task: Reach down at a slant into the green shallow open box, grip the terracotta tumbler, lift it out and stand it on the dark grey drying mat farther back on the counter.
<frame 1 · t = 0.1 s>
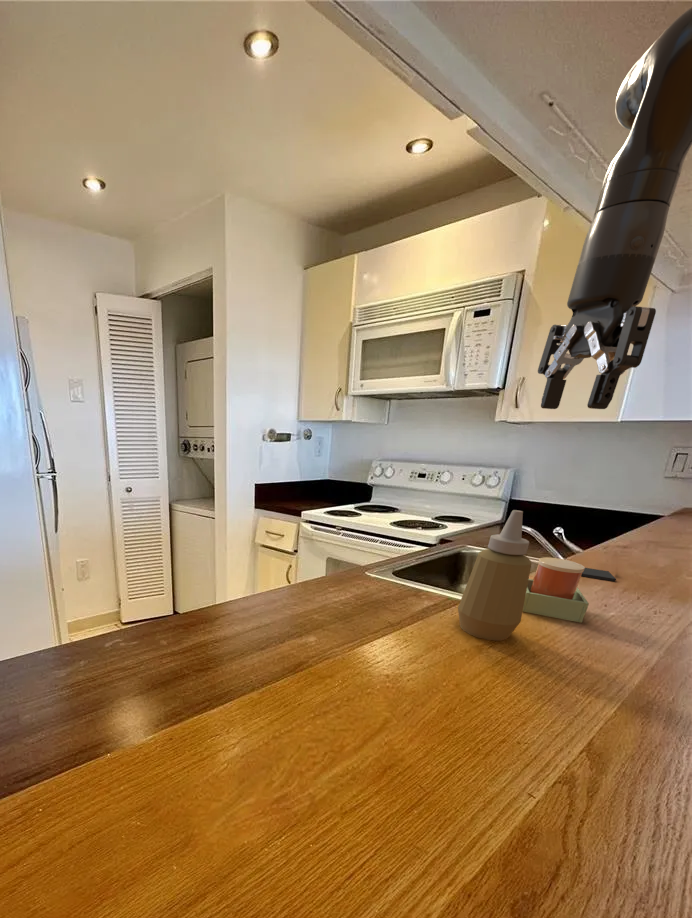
hand: (571, 408, 62), 31 cm above the countertop, tool pointing down, fingers open, 8 cm apart
squeeze bottle: (481, 637, 68), on the countertop
drying mat: (591, 574, 101), on the countertop
green shallow open box: (544, 612, 78), on the countertop
tumbler: (546, 609, 78), point 1 cm above the countertop, touching green shallow open box
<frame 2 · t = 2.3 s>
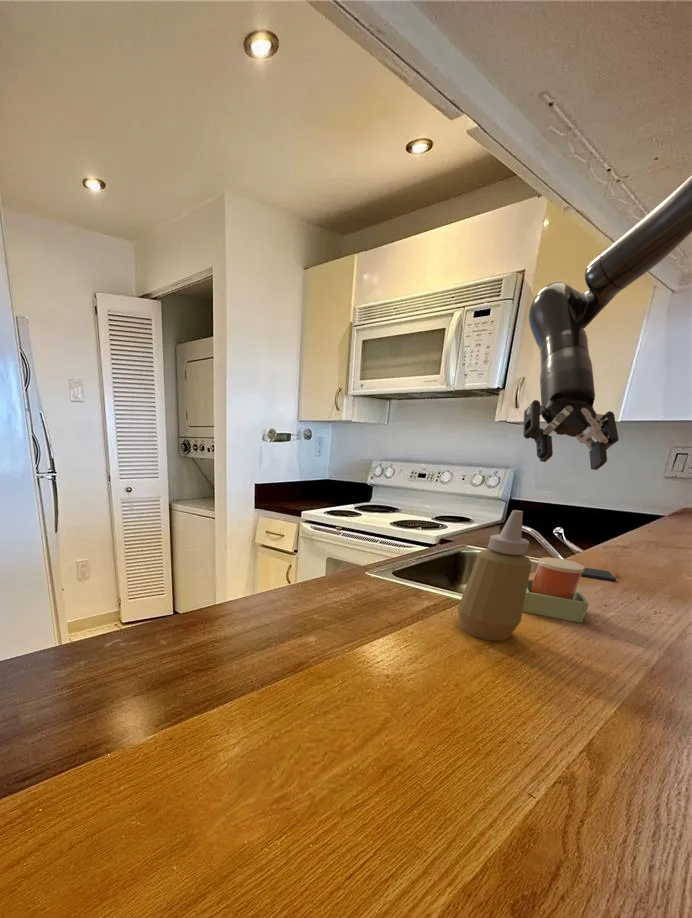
hand: (572, 463, 77), 23 cm above the countertop, tool tilted 40°, fingers open, 8 cm apart
nothing on the countertop moved.
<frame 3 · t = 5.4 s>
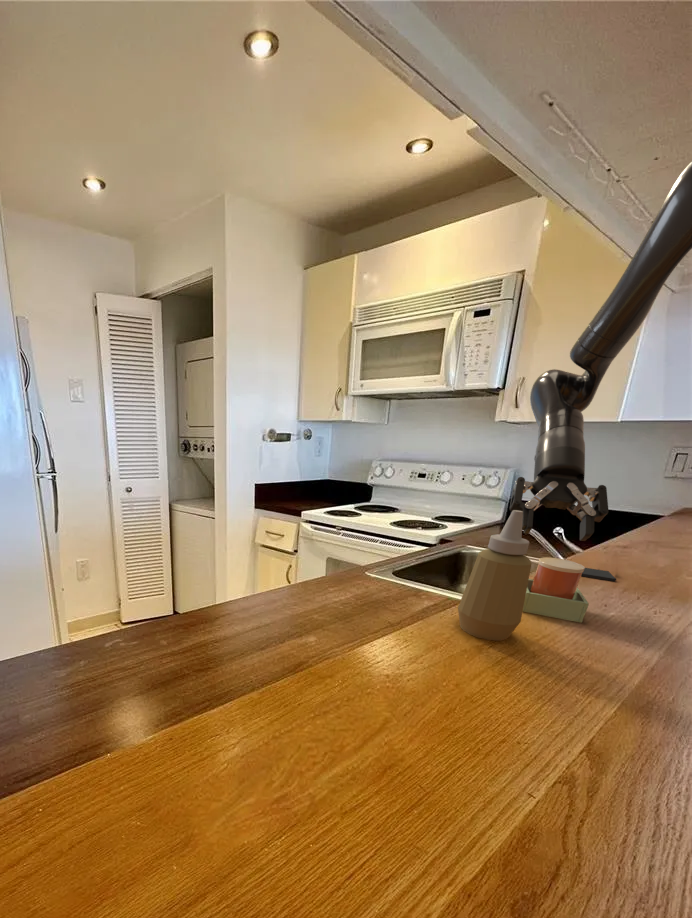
hand: (556, 534, 80), 12 cm above the countertop, tool tilted 45°, fingers open, 8 cm apart
nothing on the countertop moved.
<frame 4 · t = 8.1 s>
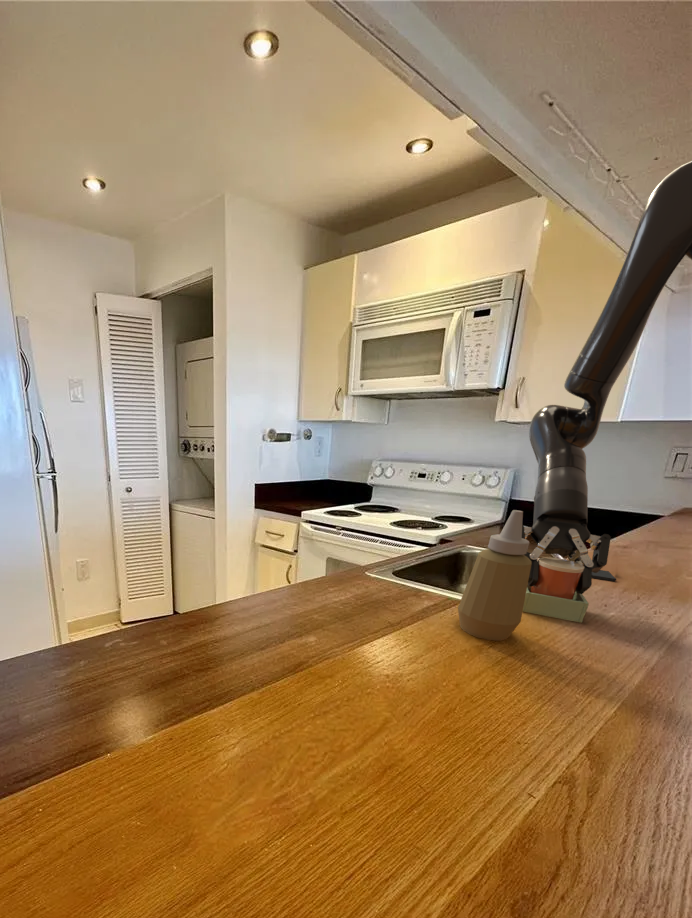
hand: (557, 587, 75), 5 cm above the countertop, tool tilted 45°, fingers closed on tumbler, 6 cm apart
tumbler: (546, 609, 78), point 1 cm above the countertop, touching green shallow open box, gripper
everything else where it was.
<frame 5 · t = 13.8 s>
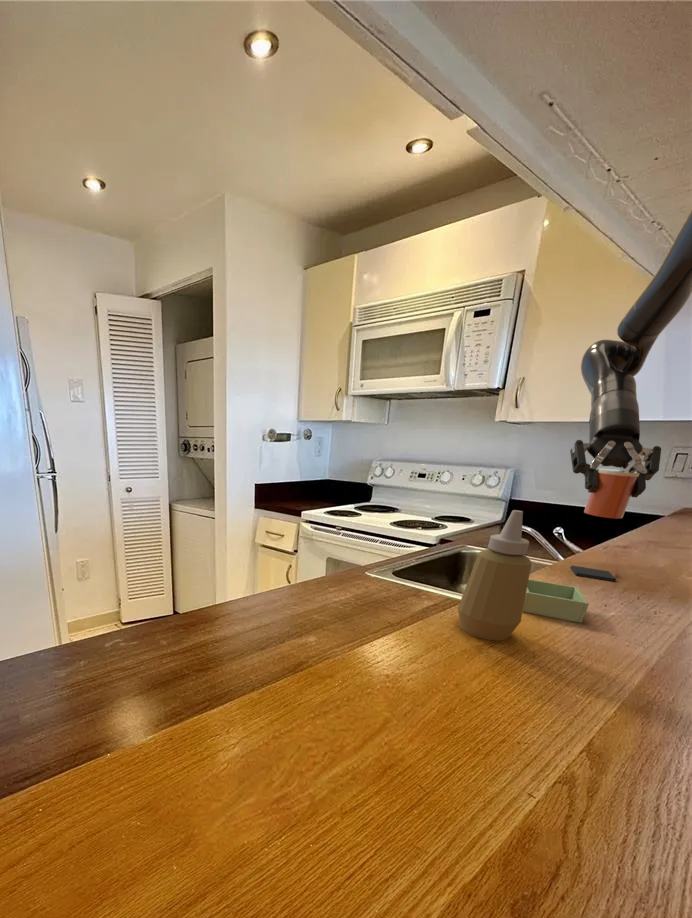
hand: (614, 492, 85), 18 cm above the countertop, tool tilted 45°, fingers closed on tumbler, 6 cm apart
tumbler: (602, 514, 88), point 14 cm above the countertop, touching gripper
everything else where it was.
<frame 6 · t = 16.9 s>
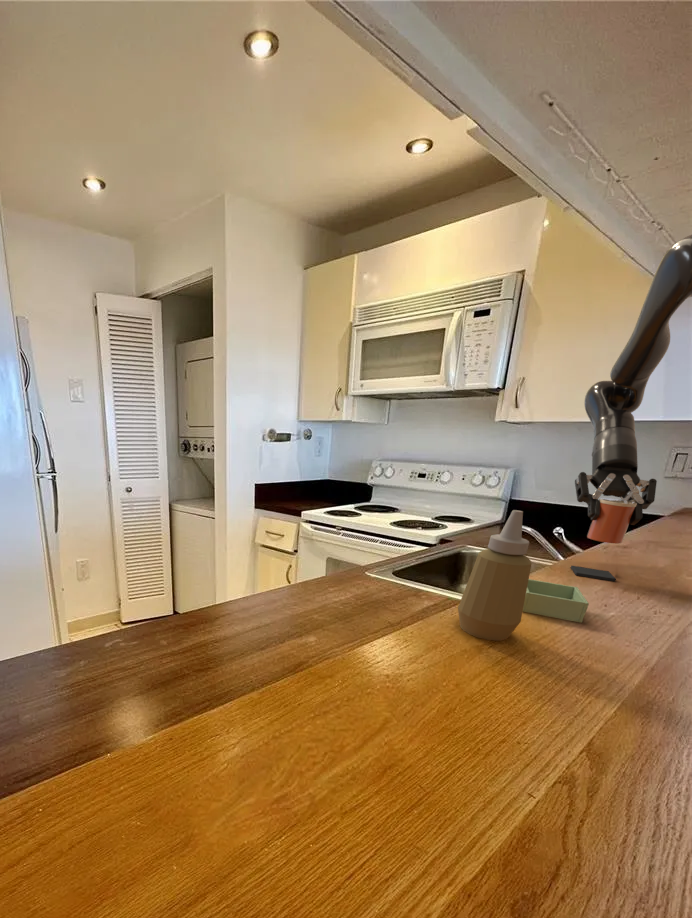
hand: (614, 520, 95), 12 cm above the countertop, tool tilted 45°, fingers closed on tumbler, 6 cm apart
tumbler: (604, 539, 98), point 8 cm above the countertop, touching gripper
everything else where it was.
when the fingers open (5 cm above the countertop, at t = 19.4 s): tumbler stays where it is, resting on drying mat.
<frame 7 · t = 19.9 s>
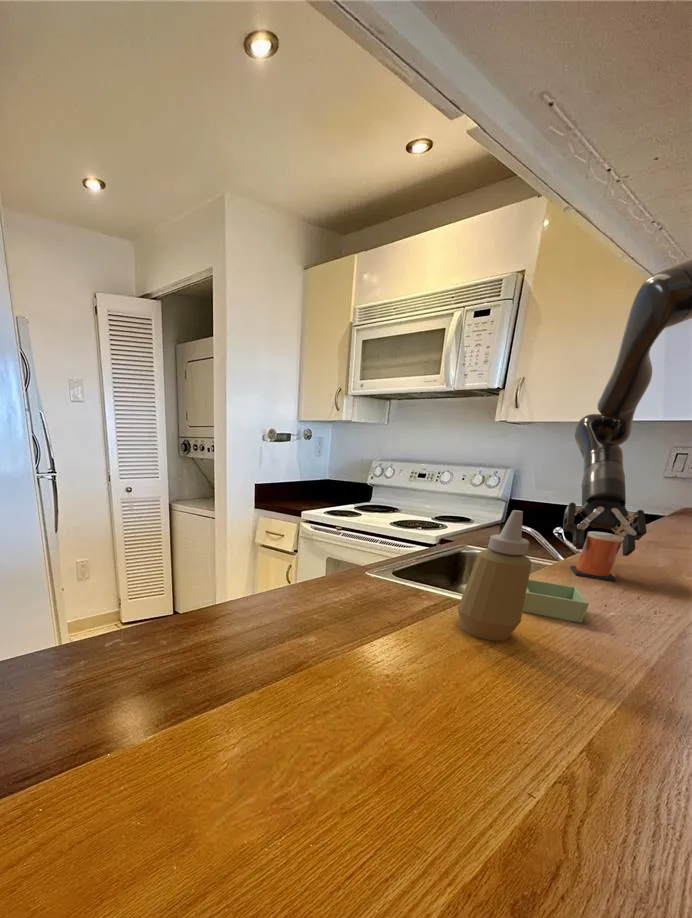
hand: (603, 550, 97), 6 cm above the countertop, tool tilted 45°, fingers open, 8 cm apart
tumbler: (592, 571, 101), point 1 cm above the countertop, touching drying mat
everything else where it was.
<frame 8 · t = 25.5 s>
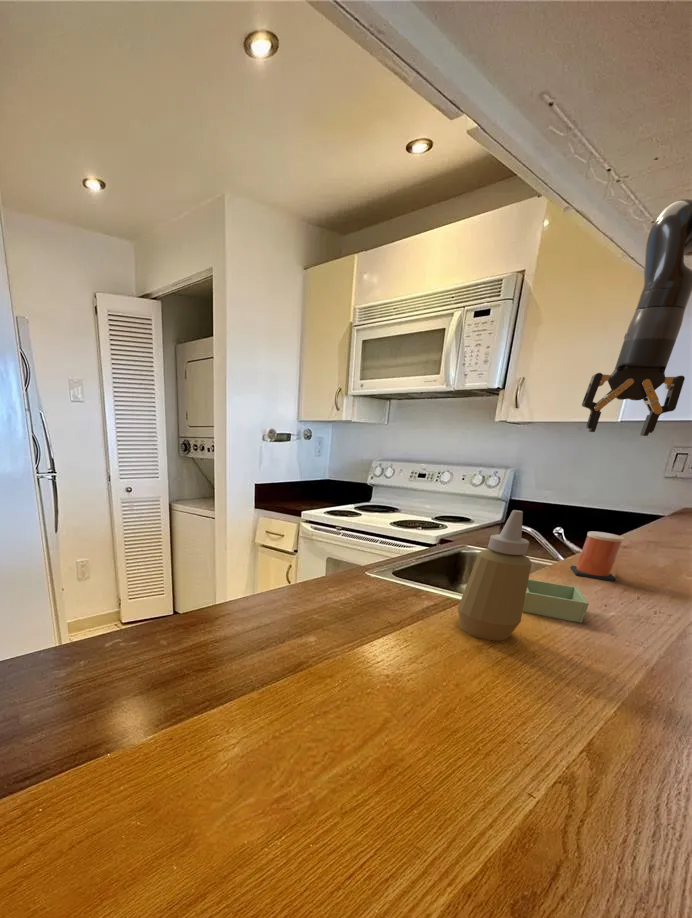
hand: (617, 433, 92), 28 cm above the countertop, tool pointing down, fingers open, 8 cm apart
nothing on the countertop moved.
at the end: tumbler 0.1 cm off-centre on the drying mat, point 0.6 cm above the drying mat's base; tumbler tilted 0°; tumbler touching drying mat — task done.
